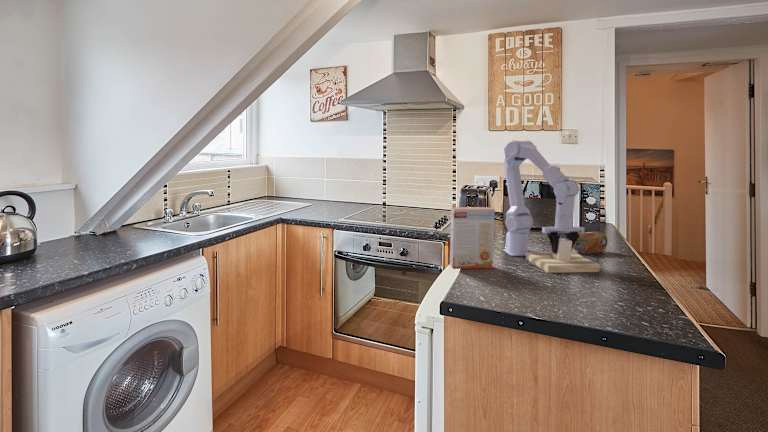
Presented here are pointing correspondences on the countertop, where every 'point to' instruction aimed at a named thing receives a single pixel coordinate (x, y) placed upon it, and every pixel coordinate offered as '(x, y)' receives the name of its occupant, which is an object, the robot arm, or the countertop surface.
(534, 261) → the socket plate
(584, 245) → the tin
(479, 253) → the cracker box
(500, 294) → the countertop surface
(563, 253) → the keyed peg
